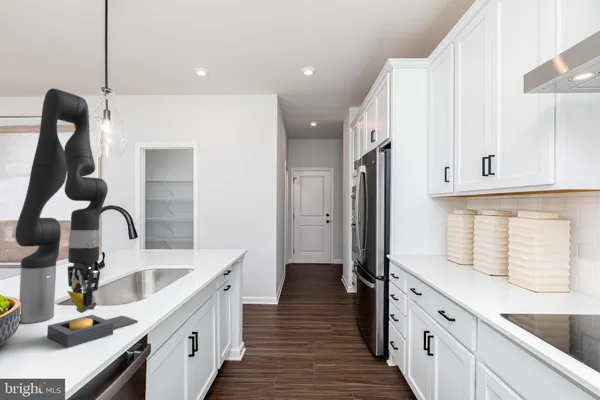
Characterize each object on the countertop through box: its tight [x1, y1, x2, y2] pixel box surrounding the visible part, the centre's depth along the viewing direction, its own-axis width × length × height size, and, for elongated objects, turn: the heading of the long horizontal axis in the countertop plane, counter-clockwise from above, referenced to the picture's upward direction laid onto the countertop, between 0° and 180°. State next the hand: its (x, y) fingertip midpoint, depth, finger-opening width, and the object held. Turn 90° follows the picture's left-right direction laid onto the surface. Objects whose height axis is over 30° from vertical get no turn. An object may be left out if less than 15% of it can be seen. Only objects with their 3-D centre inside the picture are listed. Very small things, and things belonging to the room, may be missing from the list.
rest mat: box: [106, 315, 139, 331], centre depth 107 cm, size 9×9×1 cm
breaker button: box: [69, 318, 93, 331], centre depth 96 cm, size 6×6×2 cm
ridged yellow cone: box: [67, 290, 98, 314], centre depth 97 cm, size 5×5×10 cm
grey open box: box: [46, 314, 114, 349], centre depth 96 cm, size 12×12×4 cm
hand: (82, 303), depth 97 cm, fingers closed on ridged yellow cone, 5 cm apart
